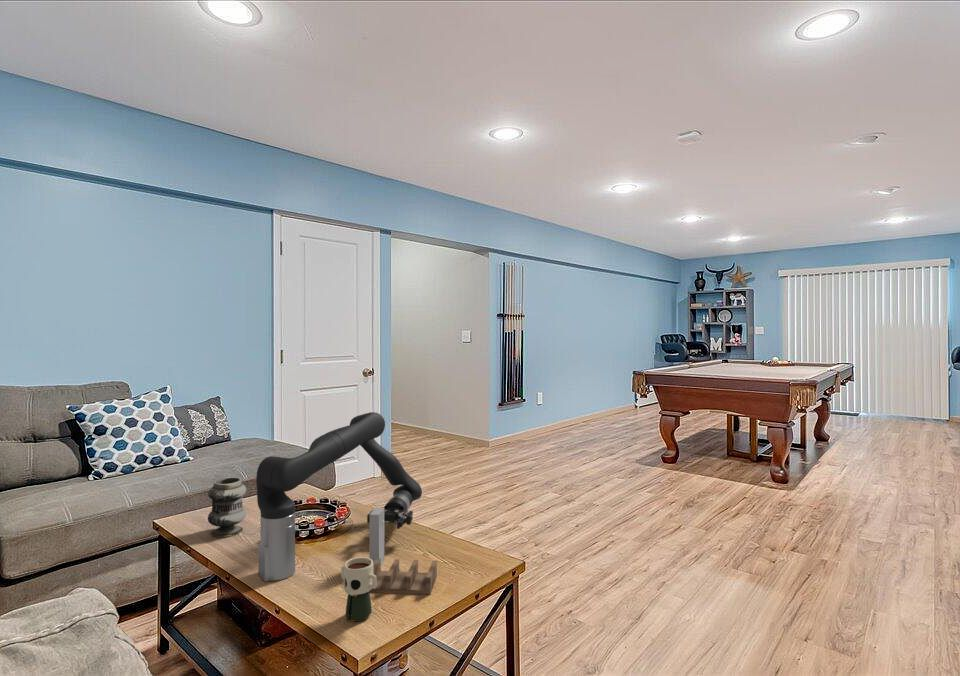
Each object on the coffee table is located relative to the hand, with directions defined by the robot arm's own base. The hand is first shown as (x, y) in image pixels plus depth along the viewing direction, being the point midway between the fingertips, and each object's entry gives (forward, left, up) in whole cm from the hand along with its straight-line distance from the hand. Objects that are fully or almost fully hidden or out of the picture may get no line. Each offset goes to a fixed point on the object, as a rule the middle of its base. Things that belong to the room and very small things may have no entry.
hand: (384, 525), depth 164 cm
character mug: (-23, -29, -9) cm, 38 cm away
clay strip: (-6, -6, -9) cm, 12 cm away
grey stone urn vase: (-35, +48, -9) cm, 60 cm away
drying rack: (-6, -21, -8) cm, 24 cm away
